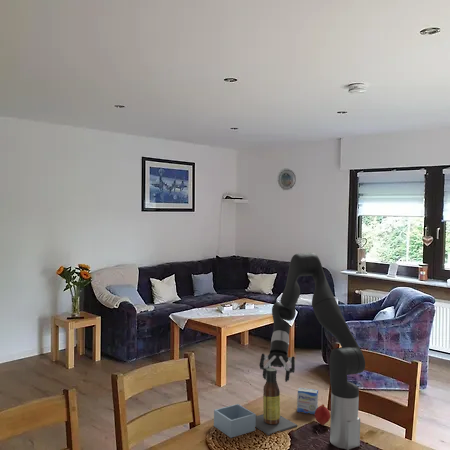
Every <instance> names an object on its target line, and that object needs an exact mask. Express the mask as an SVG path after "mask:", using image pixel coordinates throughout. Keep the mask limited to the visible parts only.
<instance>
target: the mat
mask: <svg viewBox="0 0 450 450" xmlns="http://www.w3.org/2000/svg"><path fill="white" fill-rule="evenodd" d="M255 427H256V428H255V429H257V430H259V431H260V430H261V431H260V432H262V431H263V432H264V433H263V432H262V433H263V434H265V433H266V434H265V435H267V436H271V435H273V434H272V433H275V432H277V431H281V432H283V431H288V430H291V429H293V428H297V427H298V424H296V423H294V422H293V421H291V420H289V419H288V418H286V417H284V416H283V415H280V421H279V423H278V424H274V425H270V424H267V423H265V422H264V417H263V413H262V414H259V415H256V426H255ZM270 434H271V435H270ZM275 434H276V433H275Z"/></svg>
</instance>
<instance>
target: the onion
mask: <svg viewBox="0 0 450 450" xmlns="http://www.w3.org/2000/svg"><path fill="white" fill-rule="evenodd" d="M313 415H314V419H315V421H316V422H317V423H318V424H320V425H321V426H324V425H326V424H328V423H329V421H330V420H331V411H329V409H328V408H327V407H326V406H325V403H322V404H321V405H318V408H317V409H316V411H315V414H313Z"/></svg>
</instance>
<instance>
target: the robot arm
mask: <svg viewBox="0 0 450 450" xmlns="http://www.w3.org/2000/svg"><path fill="white" fill-rule="evenodd" d="M288 267H289V268H288V271H287V278H286V282H285V283H286V284H285V287H284V290H283V291H282V294H281V296H280V302H279V301H277V302H275V303H273V305H272V307H271V315H272V321H273V329H272V336H271V341H270V348H269V353H268V355H267V354H265V353H261V356H260V362H259V369H260V370H262V378H263V379H264V380H265V381H266V369H267V368H275V367H276V368H277V367H278V368H283V369H284V371H285V375H284V377H285V378H284V381H285V383H288V381H289V380H290V374H291V373H295V370H296V369H295V368H296V367H295V366H296V359H295V356H291V357H289V356H288V355H289V346H290V330H291V325H290V324H289V323H290V322H291V321H293V320H294V318H295V316H296V305H297V303H298V300H299V298H300V295H301V288H300V285H299V283H298V279H299V278H300V277H308V276H311V277H312V279H313V281H314V291H313V294H312V299H311V307H312V310H313V312H314V315H315V317H316V319H317V321H318V322H319V324H320V325H321V326H322V327H323V328H324V329H325V330H326V331H327V332H329V333H330V334H331V335H332V336H333V337H334V338H335V339H336V340H337V342H338V343H339V345H340V346H341V347H336V348H333V349H332V350H331V351H330V354H329V383H330V389H331V391H330V395H331V396H330V420H329V421H330V422H329V425H330V428H329V441H330V442H329V443H331V445H333V446H334V447H335V448H338V449H344V450H352V449H355V448H358V447H360V446H361V445H360V443H361V418H360V417H359V396H360V395H359V394H360V389H359V386H358V385H357V384H355V383H353V382H350V381H348V376H349V375H357V374H361V373H364V371H365V369H366V359H365V356H364V354H363V351H362V349H361V347H360V346H359V343H358V342H357V341H356V338H355V337H354V335H353V334H352V332H351V330H350V328H349V326H348V323H347V322H346V320H345V317H344V316H343V314H342V311H341V309H340V306H339V304H338V302H337V299H336V298H335V296H334V294H333V291H332V289H331V287H330V284H329V282H328V280H327V279H328V278H327V277H326V275H325V271H324V268H323V265H322V262H321V259H320V257H319V256H318V255H317V254H316V253H315V252H303V253H301V252H300V253H296V254H294V255H292V257H291V259H290V262H289V266H288ZM267 360H268V361H267ZM265 361H267V362H266V364H265ZM287 362H289V363H290V364H291V366H290V368H289V366H288V363H287ZM264 364H265V365H264Z"/></svg>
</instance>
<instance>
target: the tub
mask: <svg viewBox="0 0 450 450" xmlns="http://www.w3.org/2000/svg"><path fill="white" fill-rule="evenodd" d="M256 416H257V415H256V413H255V412H253V411H251V410H249V409H248V408H246V407H244V406H243V405H241V404H239V403H237V404H236V403H235V404H231V405H229V406H224V407H220V408H216V409H213V427H214V428H216V429H217V430H219V431H220V432H222V433H223V434H224V435H226V436H227V437H229V438H230V439H232V438H235V437H238V436H241V435H246V434H248V433H251V432H254V431H256V428H255V426H256Z"/></svg>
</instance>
